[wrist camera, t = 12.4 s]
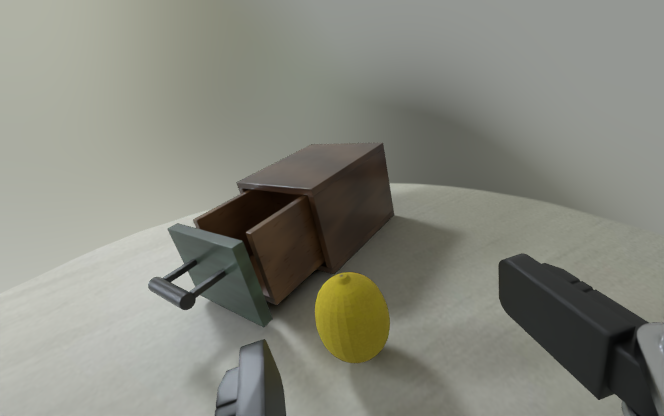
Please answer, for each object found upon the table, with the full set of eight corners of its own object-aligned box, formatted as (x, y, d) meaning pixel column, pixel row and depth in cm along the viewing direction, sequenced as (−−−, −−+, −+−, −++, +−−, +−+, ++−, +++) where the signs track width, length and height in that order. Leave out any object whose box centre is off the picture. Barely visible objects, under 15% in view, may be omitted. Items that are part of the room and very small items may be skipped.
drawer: (222, 366, 27) (180, 282, 24) (160, 323, 34) (120, 253, 31) (346, 249, 40) (330, 182, 36) (281, 235, 47) (262, 177, 43)
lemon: (349, 321, 30) (330, 248, 27) (406, 339, 27) (393, 259, 24) (314, 370, 26) (288, 291, 23) (377, 398, 23) (356, 311, 20)
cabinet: (333, 274, 37) (311, 189, 33) (261, 253, 45) (236, 182, 41) (394, 214, 47) (383, 142, 42) (326, 205, 55) (311, 144, 50)
